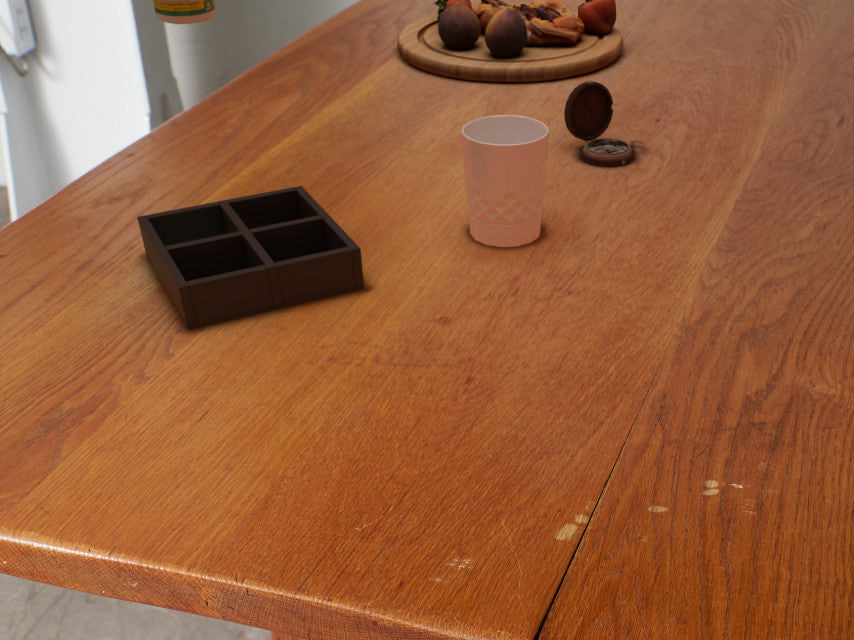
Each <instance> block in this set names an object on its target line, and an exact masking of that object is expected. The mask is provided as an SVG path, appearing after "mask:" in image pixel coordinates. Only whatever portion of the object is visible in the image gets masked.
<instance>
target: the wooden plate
mask: <svg viewBox="0 0 854 640" xmlns="http://www.w3.org/2000/svg"><path fill="white" fill-rule="evenodd" d="M434 5H436V7H438V9H437V12H436V13H435V14H432V15H429V16H426V17H422V18H420V19H417V20H415V21H413V22H412V23H410V24H408V25H407V26H405V27H404V28H403V29H402V30H401V31H400V32H399V35H398V37H397V40H396V41H397V43H396V46H397V47H396V48H397V50H398V53H399V54H400V56H401V57H402V59H404V60H405V61H406V62H407V63H409V64H410V65H412V66H414V67H415V68H417V69H419V70H422V71H425V72H428V73H431V74H434V75H439V76H443V77H448V78H449V77H450V78H455V79H461V80H468V81H477V82H478V81H479V82H490V83H491V82H492V83H494V82H495V83H526V82H544V81H545V82H546V81H553V80H559V79H565V78H570V77H574V76H579V75H584V74H587V73H590V72H594V71H596V70H599V69H602V68H604V67H606V66H608V65H609V64H611V63H612V62H614V61H616V59H617V58H618V57H619V56H620V54H621V53H622V51H623V47H624V38H623V36H622V32H620V30H619V29H618V28H617V27H616V26H615V24H616V22H617V3H616V0H585V2H583V3H581V4H580V5H577V11H572V9H571V7H570V6H569V4H568V3H566V2H565V1H564V0H531V1H530V2H529V3H528V2H527V3H526V2H523V1H521V2H517V3H514V2H506V1H502V0H480V2H478V3H476V4H475V5H474V7H473V5H472V1H471V0H437V1H435V2H434Z"/></svg>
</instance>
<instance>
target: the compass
mask: <svg viewBox="0 0 854 640" xmlns="http://www.w3.org/2000/svg"><path fill="white" fill-rule="evenodd" d="M613 105H614V100H613V97H612V93H611V92H610V90H609V88H608V87H606V86H605V84H602V83H600V82H597V81H594V80H593V81H591V80H586V81H584V82H582V83H579V84H578V85H577V86H576V87H574V88H573V90H572V91H571V92H570V93H569V95H568V97H567V100H566V103H565V105H564V111H563V113H564V117H563V118H564V123H565V126H566V129H567V130H568V132H569V133H570V134H571V135H572V136H573V137H574V138H575V139H576V138H577V139H579V140H582V141H584V142H585V144H584V145H582V146H581V147H580V148H579V158H580V160H581V161H583V162H585V163H586V164H589V165H591V166H596V167H604V168H605V167H606V168H610V167H612V168H613V167H620V166H625V165H628V164H630V163H631V162H633V161H634V159H635V157H636V151H635V149H634V148H636V149H639V148H644V147H645V146H646V143H645V142H644V141H640V140H631V141H629V143H628V142H626V141H624V140H621V139H618V138H609V137H604V138H602V137H601V136H602V135H603V134H604V133H605V132H606V131H607V129H608V128H609V126H610V124H611V122H612V119H613V115H614V109H613ZM599 137H601V138H599ZM636 143H639V144H643V145H637V146H636Z"/></svg>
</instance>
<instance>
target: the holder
mask: <svg viewBox="0 0 854 640" xmlns="http://www.w3.org/2000/svg"><path fill="white" fill-rule="evenodd" d="M136 219H137V223H138V228H139V231H140V235H141V239H142V242H143V247H144V251H145V255H146V258H147V260H148V262H149V264H150V265H151V267H152V269H153V270H154V272H155V274H156V276H157V277H158V279H159V281H160V283H161V285H162V286H163V289H165V290H164V291H166V293H167V295H168V297H169V299H170V301H171V302H172V304H173V306H174V308H175V310H176V311H177V313H178V315H179V317H180V319H181V320H182V322H183V324H184V325H185V327H186V329H187V331H192V330H197V329H201V328H204V327H208V326H209V327H210V326H214V325H217V324H223V323H226V322H230V321H234V320H240V319H243V318H248V317H251V316H255V315H256V316H257V315H260V314H261V315H262V314H264V313H269V312H274V311H277V310H278V311H279V310H281V309H286V308H290V307H296V306H298V305H304V304H307V303H312V302H315V301H316V302H317V301H321V300H324V299H328V298H333V297H337V296H341V295H346V294H351V293H355V292H359V291H363V290H365V281H364V279H365V278H364V270H363V261H362V250H361V247H360V246H359V244H357V243H356V241H354V240H353V239H352V238H351V236H349V234H348V233H347V232H346V231H345V230H344V229H343V228H342V227H341V226H340V225H339V224H338V223H337V221H336V220H334V218H333V217H332V216H330V214H329V213H328V212H327V211H326V210H325V209H324V208H323V207H322V206H321V204H319V202H317V201H316V199H315V198H314V197H312V195H311V194H310V193H309V192H308V191H307V190H306V189H305V188H304V186H303V185H299V186H292V187H288V188H281V189H276V190H271V191H265V192H260V193H256V194H255V193H254V194H250V195H245V196H239V197H234V198H228V199H224V200H218V201H213V202H207V203H204V204H198V205H192V206H186V207H182V208H177V209H172V210H171V209H170V210H165V211H161V212H155V213H150V214H143V215H139V216H137V217H136Z"/></svg>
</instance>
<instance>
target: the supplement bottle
mask: <svg viewBox="0 0 854 640" xmlns="http://www.w3.org/2000/svg"><path fill="white" fill-rule="evenodd" d="M152 3H153V8H154V12H155V16H156V18H157V19H158V20H159V21H161V22H164V23H167V24H171V25H190V24H198V23H204V22H207V21H210V20H211V19H213V18H214V17H215V16H216V3H215V0H152Z"/></svg>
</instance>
